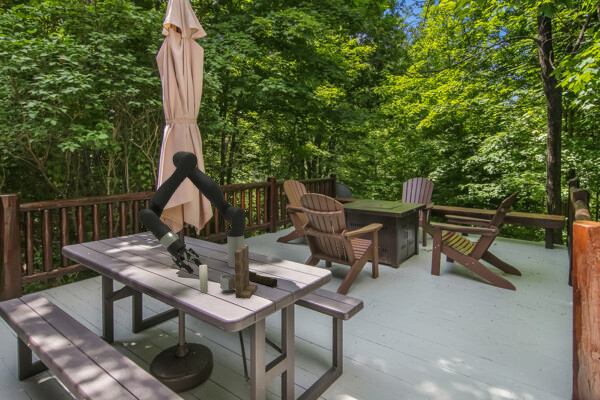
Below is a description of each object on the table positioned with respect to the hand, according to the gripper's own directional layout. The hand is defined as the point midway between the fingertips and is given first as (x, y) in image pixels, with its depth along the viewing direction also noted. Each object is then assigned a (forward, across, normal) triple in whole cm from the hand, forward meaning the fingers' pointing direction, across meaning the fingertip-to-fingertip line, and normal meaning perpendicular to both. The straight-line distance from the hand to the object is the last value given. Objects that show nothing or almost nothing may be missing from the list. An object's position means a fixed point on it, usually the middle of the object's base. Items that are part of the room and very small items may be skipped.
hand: (197, 269), depth 152 cm
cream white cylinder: (+9, 0, +5) cm, 10 cm away
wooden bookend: (+23, +2, -9) cm, 25 cm away
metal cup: (+16, +2, -5) cm, 17 cm away
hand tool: (+25, +15, -10) cm, 30 cm away
